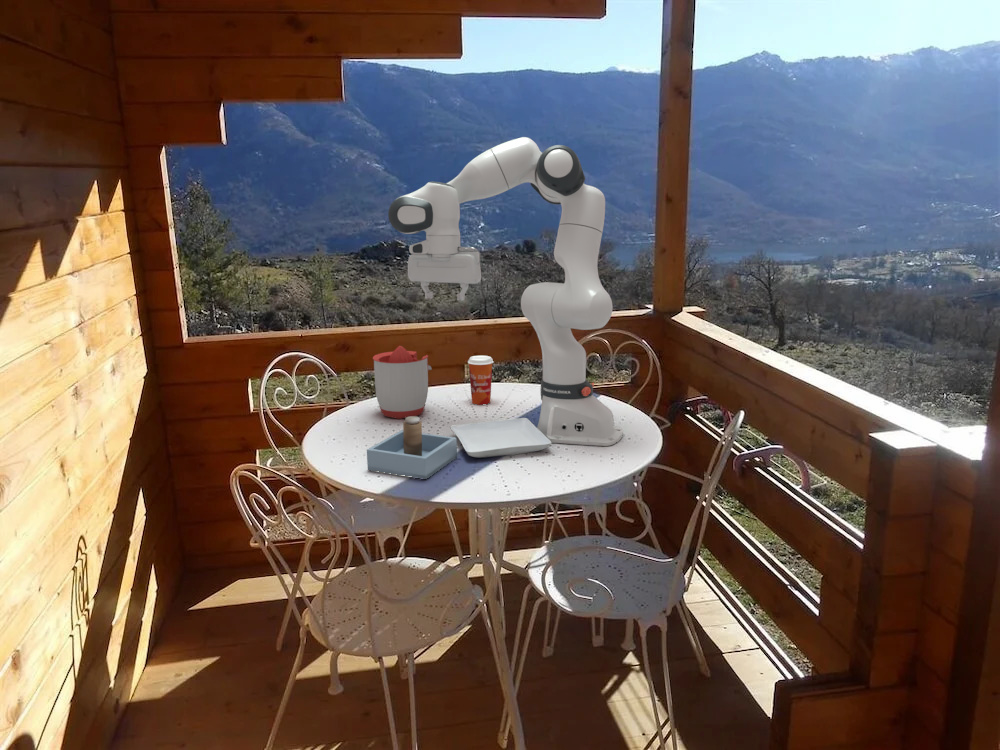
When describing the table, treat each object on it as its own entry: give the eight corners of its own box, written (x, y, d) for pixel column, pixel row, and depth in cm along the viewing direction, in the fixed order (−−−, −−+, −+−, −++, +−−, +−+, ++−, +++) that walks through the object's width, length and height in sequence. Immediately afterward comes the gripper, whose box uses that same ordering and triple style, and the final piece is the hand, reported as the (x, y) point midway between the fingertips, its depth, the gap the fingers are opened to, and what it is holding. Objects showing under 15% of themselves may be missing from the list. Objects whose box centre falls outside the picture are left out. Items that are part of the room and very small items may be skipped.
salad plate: (467, 464, 158) (467, 450, 157) (449, 436, 178) (448, 424, 177) (553, 455, 163) (553, 442, 162) (526, 429, 183) (526, 417, 182)
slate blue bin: (456, 457, 161) (456, 437, 160) (426, 480, 148) (425, 458, 147) (402, 449, 167) (401, 430, 166) (367, 470, 154) (366, 449, 152)
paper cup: (467, 406, 204) (466, 360, 201) (469, 399, 211) (468, 355, 208) (493, 406, 204) (493, 360, 200) (494, 399, 211) (494, 355, 208)
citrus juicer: (445, 413, 197) (443, 345, 192) (393, 425, 186) (390, 353, 182) (416, 401, 209) (413, 337, 204) (365, 412, 198) (361, 345, 193)
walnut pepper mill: (425, 457, 158) (424, 416, 156) (417, 464, 155) (416, 422, 152) (409, 455, 160) (408, 414, 157) (400, 461, 156) (399, 419, 154)
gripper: (485, 246, 175) (485, 300, 179) (415, 245, 183) (417, 296, 186) (474, 247, 170) (475, 303, 173) (403, 246, 178) (405, 299, 181)
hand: (444, 299), depth 180 cm, fingers open, 8 cm apart
